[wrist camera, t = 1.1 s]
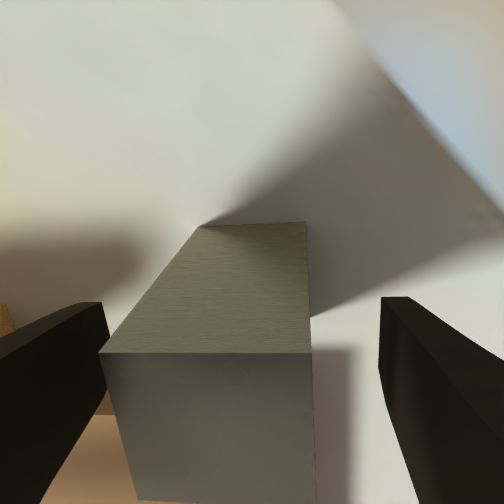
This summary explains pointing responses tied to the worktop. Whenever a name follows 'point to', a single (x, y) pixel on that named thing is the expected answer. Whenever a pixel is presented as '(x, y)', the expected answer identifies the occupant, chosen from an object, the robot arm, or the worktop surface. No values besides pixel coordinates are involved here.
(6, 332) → the block
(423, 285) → the worktop surface
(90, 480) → the plate
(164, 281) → the square bit
